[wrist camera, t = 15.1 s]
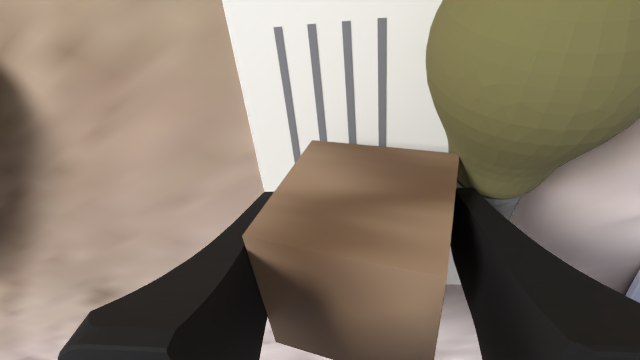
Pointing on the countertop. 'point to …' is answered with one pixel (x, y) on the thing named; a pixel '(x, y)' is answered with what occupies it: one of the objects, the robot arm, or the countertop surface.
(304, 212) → the walnut block
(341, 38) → the letter
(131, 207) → the countertop surface
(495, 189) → the light bulb
